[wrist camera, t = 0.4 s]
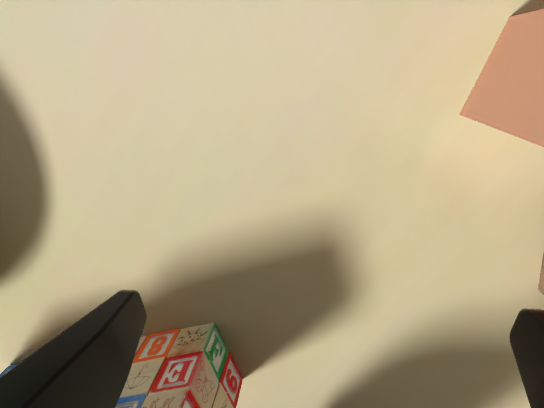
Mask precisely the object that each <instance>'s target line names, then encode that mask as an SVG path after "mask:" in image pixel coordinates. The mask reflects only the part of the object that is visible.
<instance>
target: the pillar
mask: <svg viewBox="0 0 544 408" xmlns="http://www.w3.org/2000/svg"><path fill="white" fill-rule="evenodd" d="M459 115H462V116H465V117H467V118H470V119H472V120H475V121H478V122H480V123H483V124H485V125H488V126H491V127H493V128H496V129H498V130H501V131H503V132H506V133H509V134H511V135H514V136H516V137H519V138H522V139H524V140H527V141H529V142H532V143H535V144H537V145H540V146H542V147H544V9H540V10H536V11H532V12H528V13H523V14H519V15H515V16H510V17H509V19H508V21H507V23H506V25H505V27H504V29H503V31H502V33H501V35H500V37H499V39H498V41H497V42H496V44H495V46H494V48H493V50H492V52H491V54H490V56H489V58H488V60H487V62H486V64H485V66H484V68H483V70H482V72H481V74H480V76H479V77H478V79H477V81H476V83H475V85H474V87H473V89H472V91H471V93H470V95H469V97H468V99H467V101H466V103H465V105H464V107H463V109H462V111H461V113H460V114H459Z"/></svg>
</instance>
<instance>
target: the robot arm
mask: <svg viewBox="0 0 544 408" xmlns="http://www.w3.org/2000/svg"><path fill="white" fill-rule="evenodd" d="M145 322H146V311H145V308H144V305H143V303H142V300H141V297H140V294H139V293H138V292H137V291H135V290H121V291H119V292H117V293H116V294H115V295H113V296H112V297H111V298H109V299H108V300H106V301H105V302H104V303H102V304H101V305H99V306H98V307H97V308H95V309H94V310H93V311H91V312H90V313H88V314H87V315H86V316H84V317H83V318H82V319H80V320H79V321H77V322H76V323H75V324H73V325H72V326H70V327H69V328H68V329H66V330H65V331H64V332H62V333H61V334H59V335H58V336H57V337H55V338H54V339H53V340H51V341H50V342H48V343H47V344H46V345H44V346H43V347H42V348H40V349H39V350H37V351H36V352H35V353H33V354H32V355H30V356H29V357H28V358H26V359H25V360H24V361H22V362H21V363H19V364H18V365H17V366H15V367H14V368H13V369H11V370H10V371H8V372H7V373H6V374H4V375H3V376H1V377H0V408H115V407H116V405H117V402H118V400H119V398H120V395H121V393H122V391H123V388H124V386H125V383H126V381H127V378H128V375H129V372H130V370H131V366H132V363H133V360H134V357H135V354H136V350H137V347H138V344H139V341H140V338H141V334H142V331H143V328H144V325H145ZM510 343H511V347H512V350H513V353H514V356H515V359H516V362H517V366H518V369H519V372H520V375H521V378H522V381H523V385H524V388H525V391H526V394H527V397H528V400H529V403H530V406H531V408H544V310H541V309H522V310H521V311H520V312H519V314H518V316H517V318H516V320H515V323H514V325H513V327H512V329H511V332H510Z"/></svg>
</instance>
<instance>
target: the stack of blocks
mask: <svg viewBox="0 0 544 408" xmlns="http://www.w3.org/2000/svg"><path fill="white" fill-rule="evenodd" d="M17 365H18V364H15V365H10V366H8V367H7V368H6V369H5V370H4V371H3V372H2V373H1V374H0V377H1V376H3V375H4V374H6V373H7V372H8V371H10V370H11V369H13V368H14V367H15V366H17ZM242 379H243V378H242V376H241V374H240V372H239V370H238V368H237V366H236V364H235V362H234V360H233V358H232V356H231V354H230V352H229V351H228V349H227V347H226V345H225V343H224V341H223V339H222V337H221V335H220V333H219V331H218V329H217V327H216V325H215V323H208V324H203V325H198V326H193V327H188V328H183V329H174V330H169V331H165V332H160V333H155V334H150V335H146V336H141V338H140V341H139V344H138V347H137V350H136V354H135V357H134V360H133V363H132V366H131V370H130V372H129V375H128V378H127V381H126V383H125V386H124V388H123V391H122V393H121V395H120V398H119V400H118V402H117V405H116V407H115V408H236V406H237V401H238V398H239V392H240V389H241V385H242Z"/></svg>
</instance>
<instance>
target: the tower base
mask: <svg viewBox="0 0 544 408" xmlns="http://www.w3.org/2000/svg"><path fill="white" fill-rule="evenodd" d="M538 289H539V291H540V292H541V293H542V294H543V295H544V254H543V260H542V267H541V274H540V280H539V287H538Z"/></svg>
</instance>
